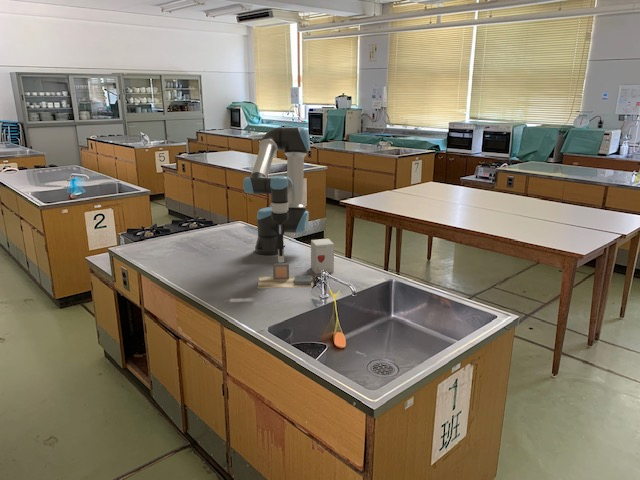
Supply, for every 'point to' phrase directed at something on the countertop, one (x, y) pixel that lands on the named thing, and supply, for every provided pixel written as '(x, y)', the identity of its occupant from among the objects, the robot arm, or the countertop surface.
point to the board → (280, 282)
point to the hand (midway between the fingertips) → (281, 261)
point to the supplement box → (322, 255)
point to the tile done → (303, 280)
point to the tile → (281, 271)
